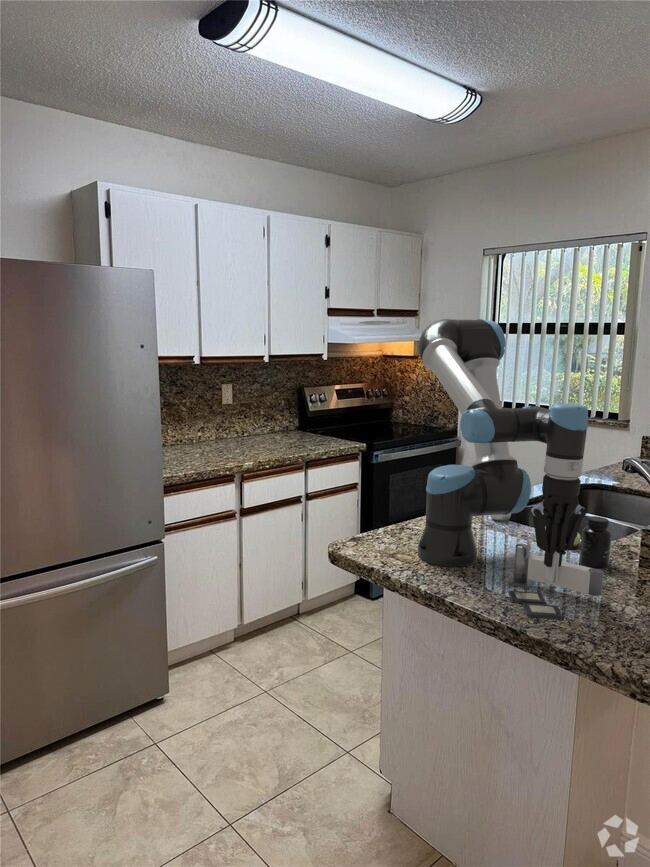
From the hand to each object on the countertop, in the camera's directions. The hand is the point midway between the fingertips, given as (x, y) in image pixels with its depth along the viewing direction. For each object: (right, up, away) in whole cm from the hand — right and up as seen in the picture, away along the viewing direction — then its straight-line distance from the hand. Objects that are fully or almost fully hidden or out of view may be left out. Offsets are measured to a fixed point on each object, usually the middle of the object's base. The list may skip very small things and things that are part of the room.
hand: (550, 580), depth 133 cm
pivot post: (-4, -2, +7) cm, 9 cm away
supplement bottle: (+18, -1, +19) cm, 26 cm away
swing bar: (+3, -1, +1) cm, 4 cm away
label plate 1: (-6, -4, -1) cm, 7 cm away
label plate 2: (-5, -5, -7) cm, 10 cm away
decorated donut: (+15, +2, +35) cm, 38 cm away
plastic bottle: (+4, +5, +54) cm, 55 cm away
